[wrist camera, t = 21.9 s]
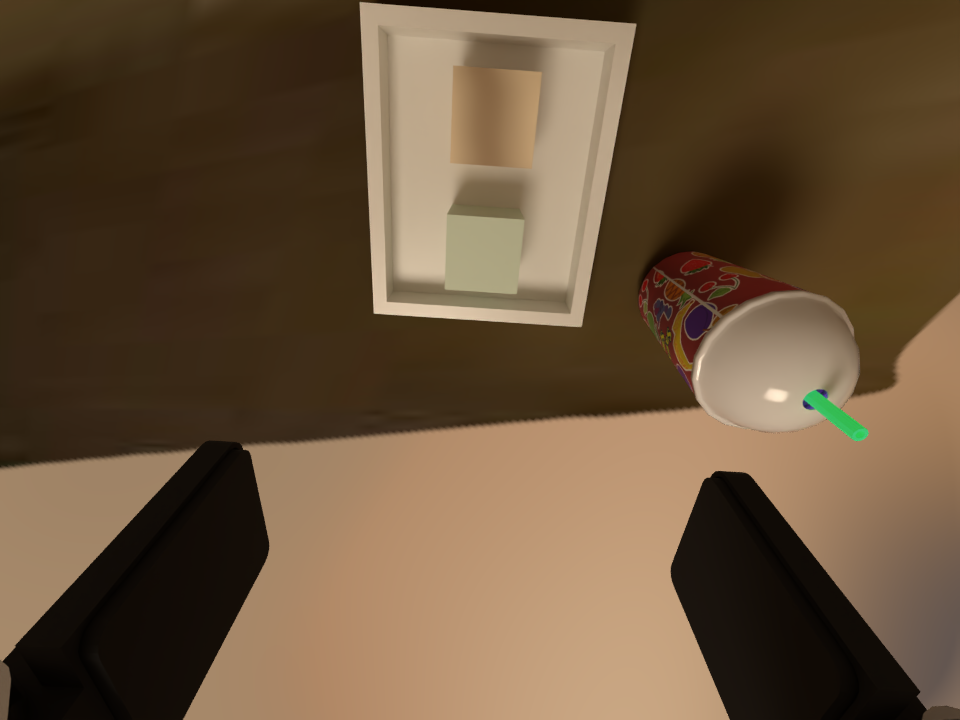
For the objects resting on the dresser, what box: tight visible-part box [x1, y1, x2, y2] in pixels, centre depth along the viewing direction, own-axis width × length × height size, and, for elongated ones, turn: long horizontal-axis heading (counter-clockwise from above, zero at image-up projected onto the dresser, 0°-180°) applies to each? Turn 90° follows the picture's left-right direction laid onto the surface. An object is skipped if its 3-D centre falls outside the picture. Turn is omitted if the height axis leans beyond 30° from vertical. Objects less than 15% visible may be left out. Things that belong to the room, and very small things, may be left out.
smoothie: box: [638, 251, 868, 441], centre depth 27 cm, size 8×8×20 cm
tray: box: [360, 2, 636, 327], centre depth 31 cm, size 16×19×4 cm
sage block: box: [445, 204, 525, 294], centre depth 32 cm, size 5×5×5 cm
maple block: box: [450, 65, 542, 169], centre depth 28 cm, size 5×5×5 cm
